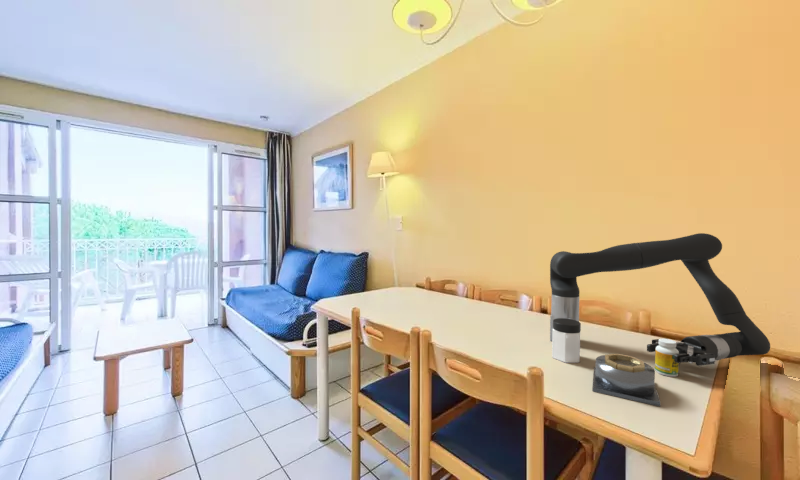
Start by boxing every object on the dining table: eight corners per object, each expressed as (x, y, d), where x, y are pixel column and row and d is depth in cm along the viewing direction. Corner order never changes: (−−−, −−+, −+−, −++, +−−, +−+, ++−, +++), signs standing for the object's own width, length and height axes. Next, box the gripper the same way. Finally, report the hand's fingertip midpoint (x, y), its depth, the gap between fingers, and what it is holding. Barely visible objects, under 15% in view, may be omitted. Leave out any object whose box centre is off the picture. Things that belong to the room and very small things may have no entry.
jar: (573, 352, 111) (573, 317, 110) (586, 363, 102) (587, 325, 102) (546, 352, 111) (547, 318, 110) (558, 363, 103) (558, 325, 102)
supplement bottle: (658, 367, 99) (659, 336, 98) (681, 374, 94) (682, 341, 94) (651, 371, 96) (652, 339, 96) (674, 379, 92) (675, 345, 91)
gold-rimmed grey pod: (592, 391, 85) (592, 364, 85) (593, 370, 97) (594, 346, 97) (660, 406, 78) (661, 377, 78) (652, 382, 90) (653, 356, 89)
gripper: (679, 328, 105) (638, 332, 101) (734, 344, 91) (688, 350, 87) (679, 351, 105) (637, 356, 102) (733, 370, 91) (687, 377, 88)
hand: (661, 353), depth 94 cm, fingers open, 7 cm apart
